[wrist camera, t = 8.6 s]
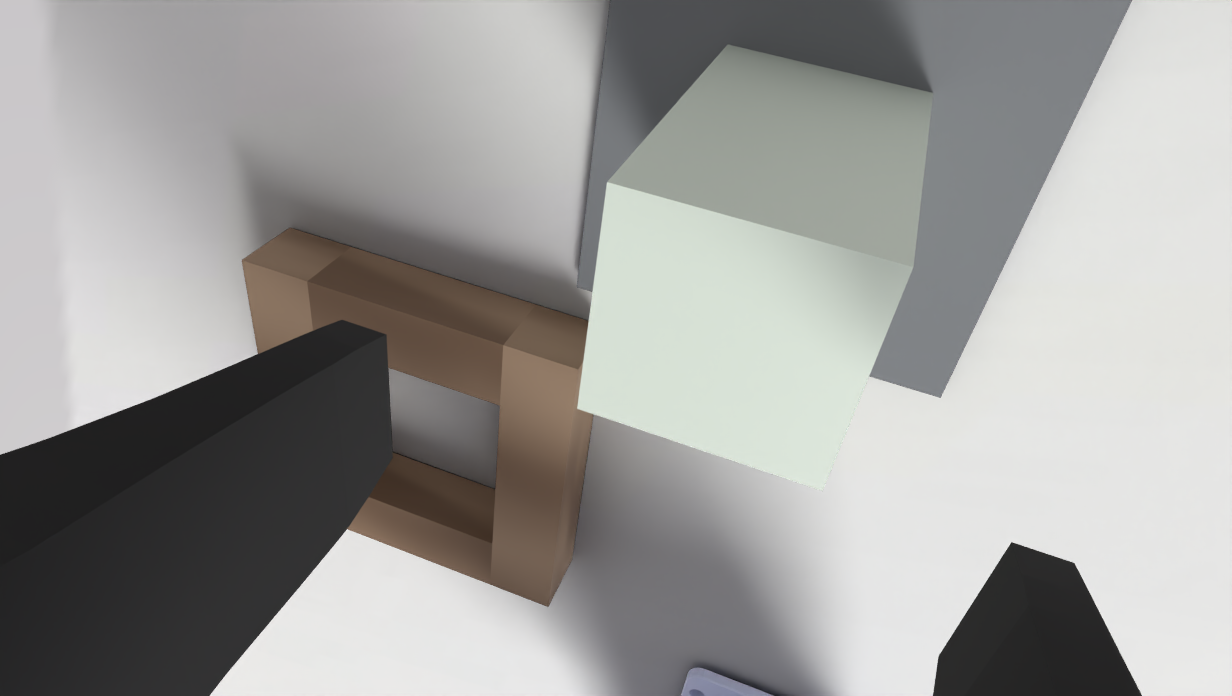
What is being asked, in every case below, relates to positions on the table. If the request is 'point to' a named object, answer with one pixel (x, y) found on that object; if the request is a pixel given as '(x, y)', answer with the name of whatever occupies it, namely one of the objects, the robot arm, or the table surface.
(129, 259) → the table surface
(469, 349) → the frame
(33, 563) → the robot arm
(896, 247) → the part block
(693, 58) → the mat
